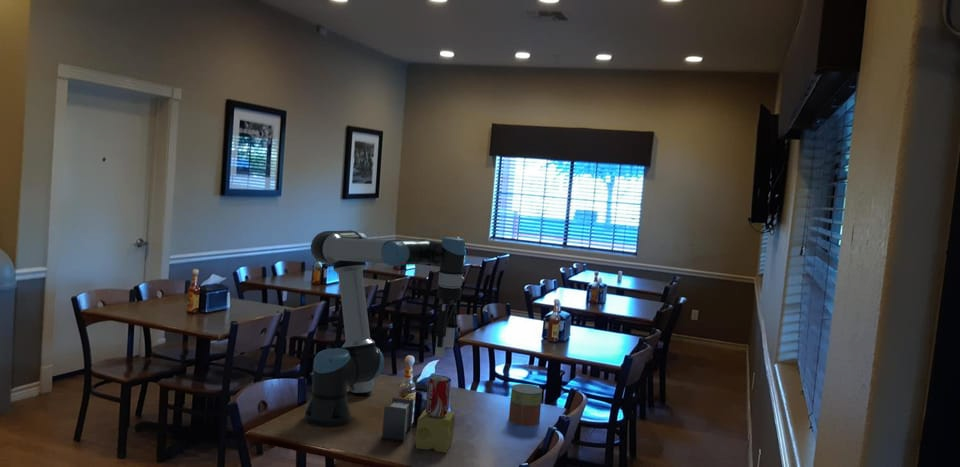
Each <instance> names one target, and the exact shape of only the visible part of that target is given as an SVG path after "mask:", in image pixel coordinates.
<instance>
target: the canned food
mask: <svg viewBox="0 0 960 467" xmlns="http://www.w3.org/2000/svg"><path fill="white" fill-rule="evenodd" d="M510 389H511V391H510V401H509V402H510V403H509V415H508V422H509V423H511V424H513V425H516V426H518V427H524V428H526V427H527V428H532V427H537V426H539V424H541V422H540V420H541V410H542V409H541V407H542V400H543V399H542V397H543V391H544V390H543V389H542V388H541V387H539V386H537V385H533V384H526V383H519V384H518V383H517V384H514V385H511V387H510Z"/></svg>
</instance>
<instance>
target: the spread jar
mask: <svg viewBox="0 0 960 467" xmlns="http://www.w3.org/2000/svg"><path fill="white" fill-rule="evenodd" d="M374 387H375V379H373V380H370V381H369V382H362V383H358V384H354V385H350V386H347V390H348V391H349V393H350V394H351V395H352V396H357V397H363V396H364V397H365V396H368V395H369V394H371V393H372V392H373V390H374Z"/></svg>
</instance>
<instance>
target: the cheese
mask: <svg viewBox="0 0 960 467" xmlns="http://www.w3.org/2000/svg"><path fill="white" fill-rule="evenodd" d="M455 414H456V413H455V412H454V411H447V414H446V415H444V416H443V417H432V416H429V415H428V414H427V413H426V408H425V409H424V410H423V411H422V413H421V415H420V416H419V417H418V418H417V423H416V435H415V449H418V450H426V451H427V450H428V451H429V450H434V451H435V452H438V453H445V454H446V453H447V452H448V450H449V447H450V445H451V444H452V442H453V437H454V433H455V432H454V430H455V424H456V423H455V422H456V419H455V417H456V415H455Z"/></svg>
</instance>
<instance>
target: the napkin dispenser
mask: <svg viewBox="0 0 960 467" xmlns="http://www.w3.org/2000/svg"><path fill="white" fill-rule="evenodd" d="M391 398H392V401H391V405H384V407H383V408H384V409H383V410H384V411H383V424H382V436H381V441H387V442H393V443H394V442H395V443H401V444H404V443H405V441H406V440H407V438H408V437H409V436H410V434H411V433H412V425H413V424H412V423H413V411H414V399H410V398H403V397H395V396H393V397H391Z"/></svg>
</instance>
